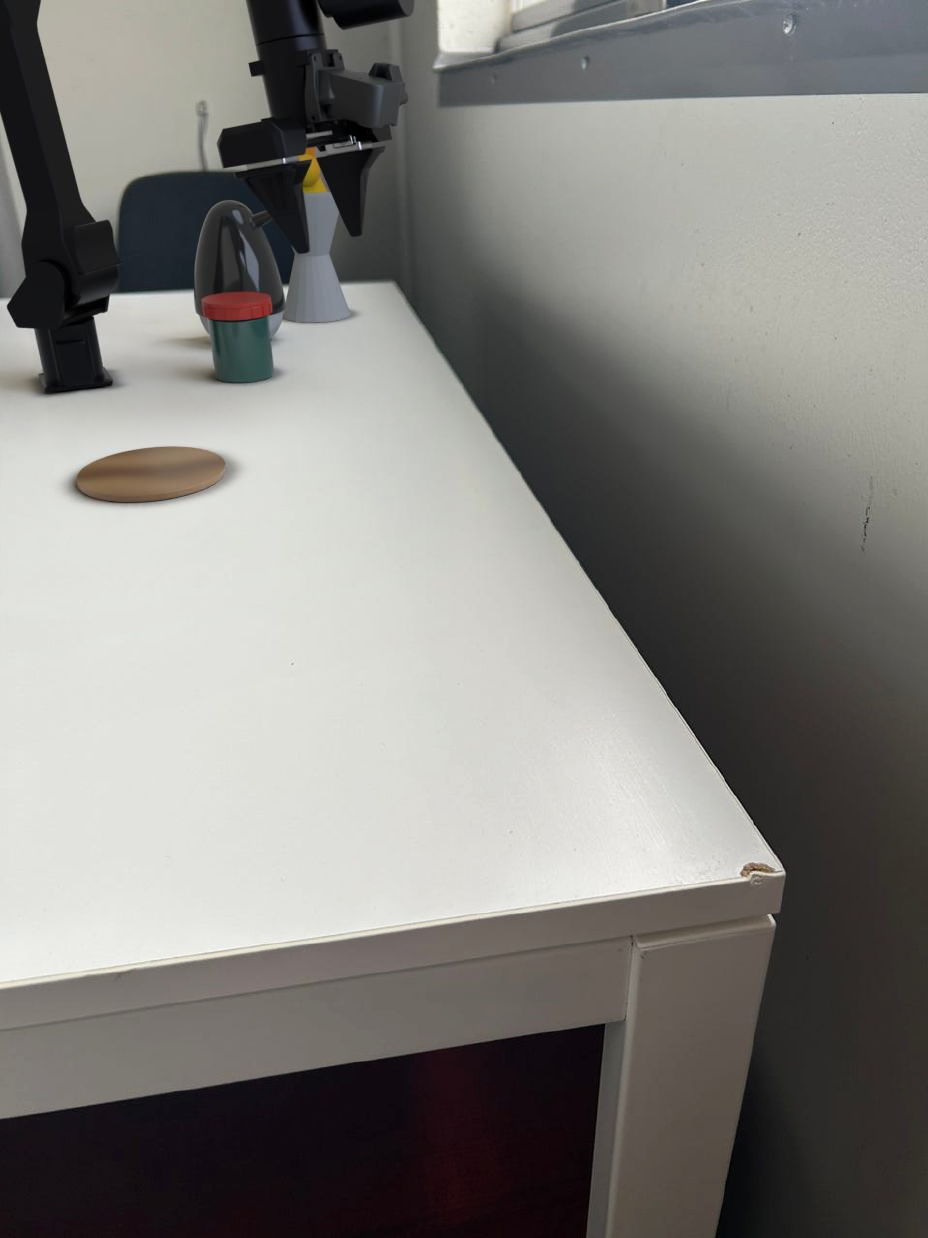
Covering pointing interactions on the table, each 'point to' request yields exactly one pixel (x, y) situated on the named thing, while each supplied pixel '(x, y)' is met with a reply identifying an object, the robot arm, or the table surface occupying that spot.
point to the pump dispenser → (237, 259)
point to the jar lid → (236, 306)
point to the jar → (241, 349)
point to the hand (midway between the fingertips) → (331, 244)
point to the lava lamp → (316, 257)
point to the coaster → (151, 474)
